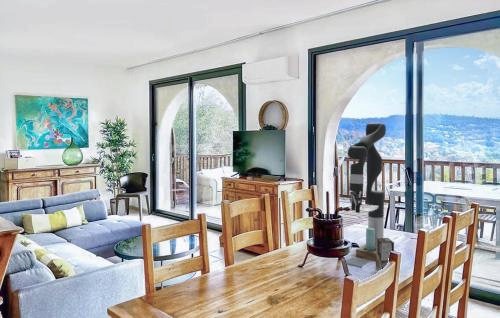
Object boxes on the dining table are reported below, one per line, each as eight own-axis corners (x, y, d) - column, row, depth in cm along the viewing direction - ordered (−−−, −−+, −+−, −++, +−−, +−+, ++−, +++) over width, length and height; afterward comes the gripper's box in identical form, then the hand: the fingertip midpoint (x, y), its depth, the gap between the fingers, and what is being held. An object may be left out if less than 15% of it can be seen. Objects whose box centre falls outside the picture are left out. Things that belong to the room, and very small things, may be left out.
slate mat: (352, 258, 220) (352, 257, 220) (371, 262, 213) (371, 261, 212) (342, 262, 212) (342, 261, 212) (361, 267, 205) (361, 266, 205)
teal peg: (368, 253, 226) (368, 227, 225) (376, 255, 223) (376, 228, 222) (364, 255, 223) (364, 229, 222) (372, 257, 220) (372, 230, 219)
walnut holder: (364, 250, 234) (364, 243, 234) (390, 256, 223) (390, 249, 223) (350, 256, 223) (350, 249, 223) (376, 263, 212) (377, 255, 212)
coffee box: (394, 275, 194) (394, 242, 193) (380, 275, 194) (381, 242, 193) (387, 268, 203) (388, 237, 202) (375, 268, 203) (375, 237, 202)
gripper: (367, 183, 214) (366, 213, 214) (359, 181, 228) (358, 209, 228) (353, 183, 213) (352, 213, 214) (346, 181, 228) (345, 209, 228)
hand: (355, 211), depth 221 cm, fingers open, 8 cm apart
